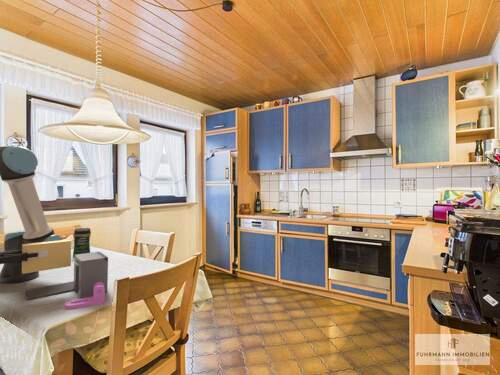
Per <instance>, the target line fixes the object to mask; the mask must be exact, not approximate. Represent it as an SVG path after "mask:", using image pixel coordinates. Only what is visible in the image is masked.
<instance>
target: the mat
mask: <svg viewBox="0 0 500 375" xmlns="http://www.w3.org/2000/svg"><path fill="white" fill-rule="evenodd" d="M24 291H25V295H26V300H27V301H31V300H36V299H40V298H45V297H50V296H54V295H59V294H64V293H69V292H74V291H75V288H74V280H73V281H67V282H63V283H57V284H50V285H47V286H40V287H35V288H30V289H25V290H24ZM75 292H76V291H75Z"/></svg>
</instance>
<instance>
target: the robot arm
mask: <svg viewBox="0 0 500 375" xmlns="http://www.w3.org/2000/svg"><path fill="white" fill-rule="evenodd" d="M38 164H39V161H38V158H37V156H36V154H35V153H34V152H33V151H32V150H31V149H28V148H27V147H24V146H17V145H11V146H10V145H7V146H0V180H1V181H2V182H5V183H6V184H7V185H8V188H9V190H10V192H11V196H12V199H13V201H14V204H15V206H16V209H17V213H18V214H19V218H20V221H21V223H22V227H23V229H24V230H20V231H11V232H8V233H6V234H5V236H4V240H3V243H4V244H3V247H4V248H3V251H0V265H2V267H1V270H0V283H2V284H10V283H12V284H13V283H21V282H24V281H29V280H32V279H35V278H37V277H39V276H40V271H38V272H31V273H25V274H22V261H25V262H26V261H28V259H32V258H40V257H47V256H48V250H40V251H32V252H28V253H22V244H30V243H40V242H49V241H59V240H64V239H63V238H62V236H60V235H59V234H56V232H55V231H54V228H53V227H52V226H51V225H50V226H49V224H48V221H47V219H46V216H45V213H44V210H43V206H42V204H41V200H40V197H39V194H38V192H37V189H36V186H35V182H34V177H35V175H36V172H35V171H36V170H37V169H38V168H37V167H38Z"/></svg>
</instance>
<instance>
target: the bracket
mask: <svg viewBox="0 0 500 375" xmlns="http://www.w3.org/2000/svg"><path fill="white" fill-rule="evenodd" d="M105 295H106V292H105V288H104V284H103V283H102V282H97V283H96V284H95V285H94V292H93V295H92V296H88V297H83V298H77V299H71V300H67V301H66V302H65V303H64V308H65V309H67V310H74V309H78V307H79V308H84V306H85V307H90V306H89V305H91V306H95V305H94V304H96V305H101V304H100V303H102V304H105V299H106V298H105V297H106V296H105Z"/></svg>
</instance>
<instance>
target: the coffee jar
mask: <svg viewBox="0 0 500 375" xmlns="http://www.w3.org/2000/svg"><path fill="white" fill-rule="evenodd" d="M91 235H92V231H91V228H90V227H79V228H75V229H74V231H73V237H74V244H73V250H72V251H73V252H72V257H73V258H74V255H77V254H84V253H91V246H90V244H91V243H90V238H91Z"/></svg>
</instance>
